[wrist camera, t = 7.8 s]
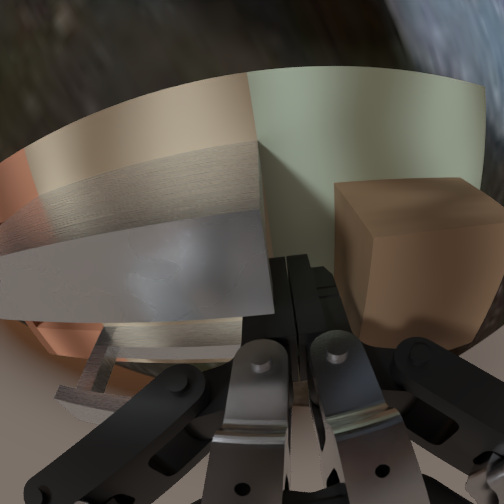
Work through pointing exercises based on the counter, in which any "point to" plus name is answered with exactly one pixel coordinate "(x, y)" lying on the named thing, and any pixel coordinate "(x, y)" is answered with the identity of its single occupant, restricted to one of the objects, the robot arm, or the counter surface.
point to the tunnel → (143, 262)
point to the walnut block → (416, 258)
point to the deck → (267, 152)
